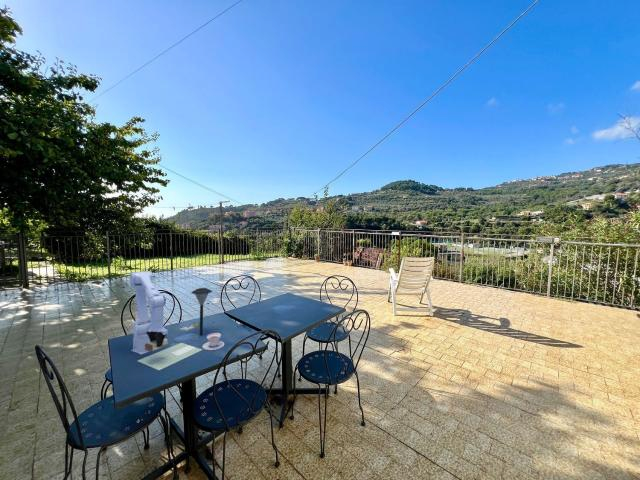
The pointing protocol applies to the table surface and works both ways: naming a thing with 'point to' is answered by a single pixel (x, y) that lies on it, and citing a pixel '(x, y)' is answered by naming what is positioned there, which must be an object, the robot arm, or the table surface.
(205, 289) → the solar garden light
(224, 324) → the table surface
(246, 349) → the table surface
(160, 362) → the mat
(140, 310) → the robot arm
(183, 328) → the smartphone
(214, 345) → the teacup
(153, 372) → the table surface
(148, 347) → the brown-topped white block
